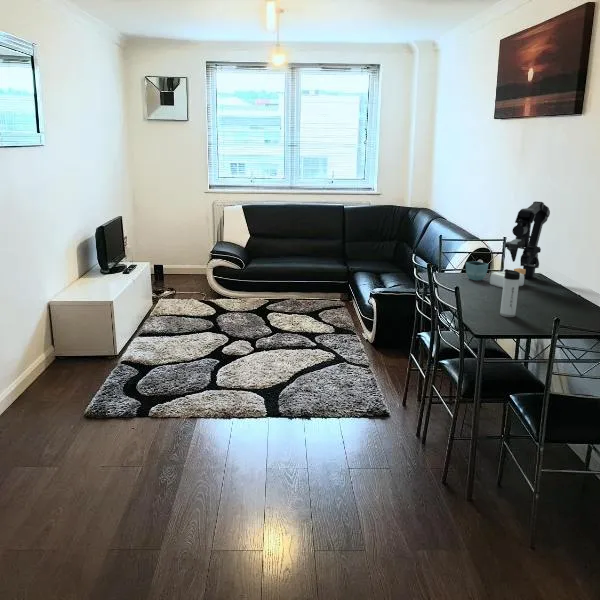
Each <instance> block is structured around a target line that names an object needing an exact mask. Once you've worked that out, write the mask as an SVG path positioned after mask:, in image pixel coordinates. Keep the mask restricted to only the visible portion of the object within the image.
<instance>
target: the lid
mask: <svg viewBox="0 0 600 600" xmlns="http://www.w3.org/2000/svg"><path fill="white" fill-rule="evenodd" d="M513 270H514V271H517V272H519V273H520V277H522V276H524V274H525V272H526V269H523V267H522V268H521V267H517V268H513ZM491 275H493V276H497V277H501V278H504V276H505V271H504V270H503V271H502V270H501V271H496V272H491V274H490V276H491Z"/></svg>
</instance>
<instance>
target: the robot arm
mask: <svg viewBox="0 0 600 600" xmlns="http://www.w3.org/2000/svg"><path fill="white" fill-rule="evenodd" d="M550 215H551V211H550V208H549V206H548V205H546V204H545V203H544V202H543V201H533V203H531V205H530V206H528V207H526V208H520V210H519V211H518V212H517V216H516V218H515V221H514V223H515V224H516V225H515V226H514V227H513V228H512V230H511V231H512V234H513V235H514V236H515V238H514V239H513V240H511V241H510V240H509V241H506V242H505V243H504V248H506V249H507V250H508V251H509V252H510V257H511V261H512V262H513V263H514V262H515V261H516V259H517V254H518V252H519V251H518V250H519V249H521V250H523V251H522V255H521V256H520V267H522V269H526V272H525V274H524V279H528V280H532V279H537V276H536V275H535V273H536V269H539V268H540V260H539V255H538V254H539V253H541V250H542V248H541V247H540V246H538V245H539V241H540V237H541V233H542V229H543V225H544V224H545V223H546V222H547V221H548V218H549V217H550ZM532 225H533V226H532ZM531 227H532V230H531Z"/></svg>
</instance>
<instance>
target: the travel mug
mask: <svg viewBox="0 0 600 600" xmlns="http://www.w3.org/2000/svg"><path fill="white" fill-rule="evenodd" d="M503 271H505V276H504V284H503V288H502V293H501V294H502V295H501V302H500V310H499V311H500V312H499V316H502V317H504V318H515V317H516V311H517V303H518V295H519V294H518V293H519V287H520V286H519V278H520V273H519V272H517V271H514V269H504V270H503Z"/></svg>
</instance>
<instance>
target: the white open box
mask: <svg viewBox="0 0 600 600" xmlns="http://www.w3.org/2000/svg"><path fill="white" fill-rule="evenodd" d="M489 277H490V278H489V285H491V286H494V287H498V288H502V289H503V284H504V278H501V277H497V276H493V275H491V274H490V276H489ZM524 282H525V278H524V276H522V277H520V278H519V287H522V286H524Z"/></svg>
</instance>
